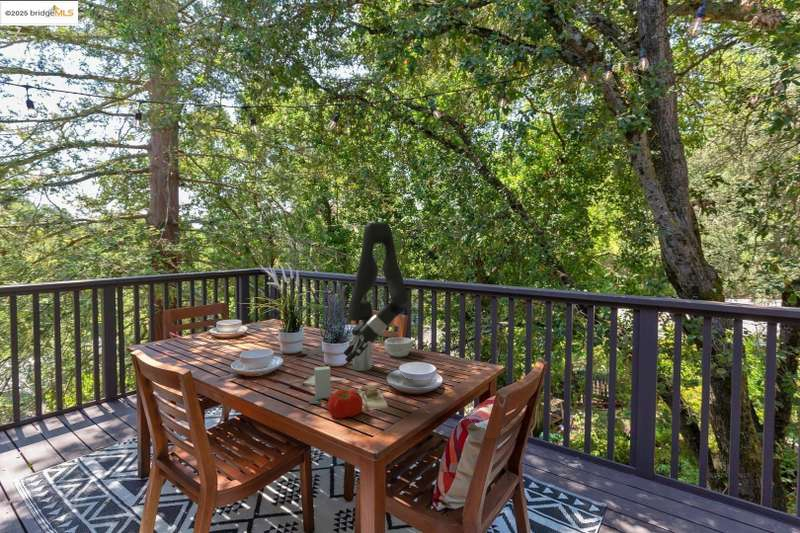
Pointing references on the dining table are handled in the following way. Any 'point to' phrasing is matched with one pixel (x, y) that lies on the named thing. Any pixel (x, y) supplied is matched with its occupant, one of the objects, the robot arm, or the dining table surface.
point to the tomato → (345, 404)
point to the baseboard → (312, 380)
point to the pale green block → (322, 382)
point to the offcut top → (370, 389)
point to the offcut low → (370, 394)
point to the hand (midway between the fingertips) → (346, 357)
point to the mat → (315, 401)
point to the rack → (373, 401)
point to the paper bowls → (398, 346)
